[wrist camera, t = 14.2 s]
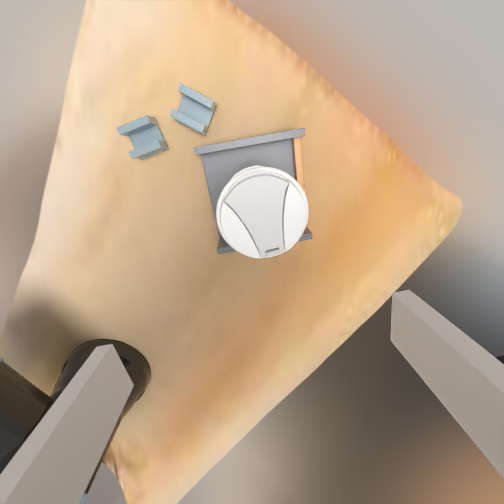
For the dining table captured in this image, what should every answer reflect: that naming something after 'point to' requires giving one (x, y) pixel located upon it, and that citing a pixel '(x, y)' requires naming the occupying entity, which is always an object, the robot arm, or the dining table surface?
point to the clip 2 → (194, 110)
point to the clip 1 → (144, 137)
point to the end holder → (251, 164)
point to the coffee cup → (262, 212)
